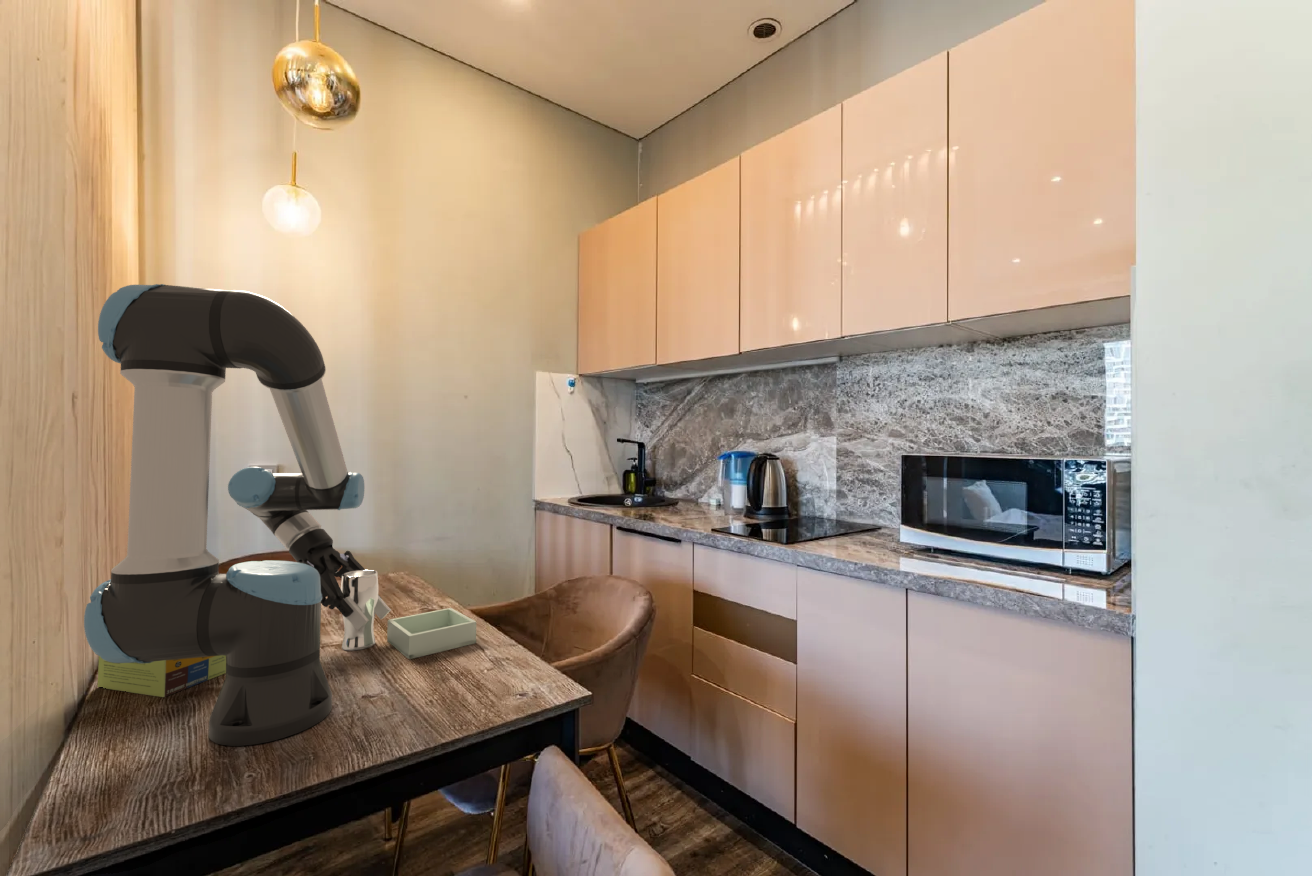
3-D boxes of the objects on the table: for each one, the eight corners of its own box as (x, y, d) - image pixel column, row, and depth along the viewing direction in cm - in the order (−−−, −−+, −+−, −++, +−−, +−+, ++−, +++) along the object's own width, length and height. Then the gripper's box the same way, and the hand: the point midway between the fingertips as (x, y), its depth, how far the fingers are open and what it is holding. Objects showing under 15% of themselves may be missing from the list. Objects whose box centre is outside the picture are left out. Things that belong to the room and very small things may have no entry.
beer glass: (375, 649, 111) (376, 575, 112) (336, 653, 109) (338, 578, 109) (379, 638, 118) (380, 568, 118) (342, 642, 115) (343, 571, 116)
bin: (476, 643, 115) (476, 621, 115) (408, 659, 106) (409, 636, 106) (450, 627, 125) (450, 607, 125) (387, 641, 116) (387, 620, 116)
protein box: (164, 698, 89) (167, 603, 90) (95, 688, 93) (98, 596, 93) (228, 673, 99) (230, 587, 100) (164, 665, 103) (166, 582, 103)
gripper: (327, 543, 125) (391, 618, 123) (254, 560, 106) (328, 649, 104) (348, 521, 125) (414, 595, 122) (279, 533, 106) (355, 622, 103)
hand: (374, 619), depth 113 cm, fingers closed on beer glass, 7 cm apart
